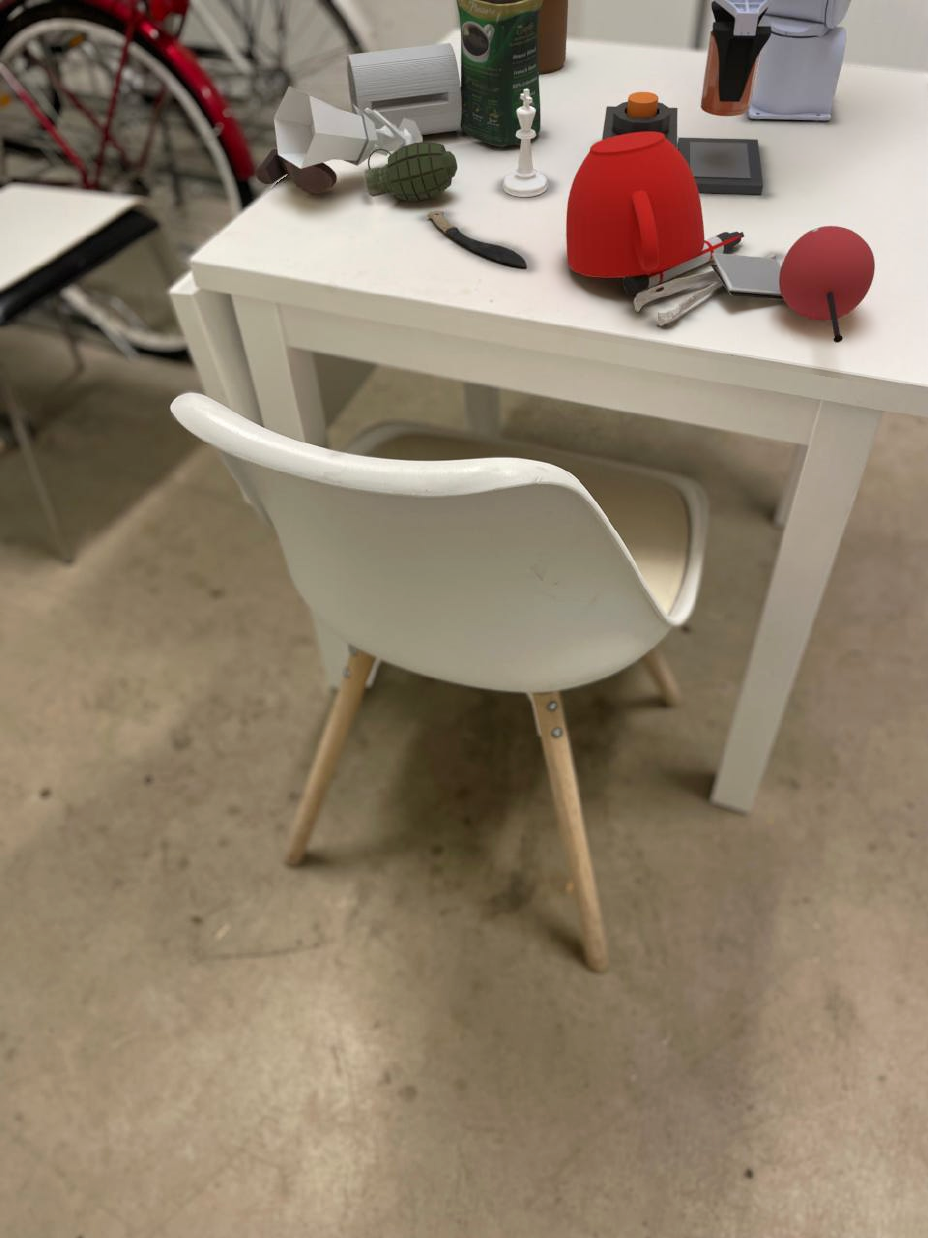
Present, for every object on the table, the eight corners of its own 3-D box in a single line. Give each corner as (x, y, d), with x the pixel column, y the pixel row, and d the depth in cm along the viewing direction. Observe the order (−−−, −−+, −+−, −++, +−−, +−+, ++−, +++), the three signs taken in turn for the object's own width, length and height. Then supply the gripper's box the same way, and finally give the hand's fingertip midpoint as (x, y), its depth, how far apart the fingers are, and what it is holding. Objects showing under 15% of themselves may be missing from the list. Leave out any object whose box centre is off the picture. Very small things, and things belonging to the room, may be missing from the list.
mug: (506, 87, 125) (505, 4, 118) (472, 71, 129) (470, -10, 122) (577, 65, 129) (580, -16, 122) (542, 50, 133) (544, -29, 126)
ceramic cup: (726, 150, 76) (728, 274, 82) (685, 113, 90) (689, 222, 96) (566, 181, 78) (579, 301, 83) (549, 140, 91) (562, 246, 97)
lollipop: (769, 362, 78) (762, 279, 88) (856, 391, 78) (839, 305, 88) (817, 278, 72) (804, 200, 83) (911, 309, 73) (885, 228, 83)
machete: (536, 266, 94) (536, 259, 93) (513, 276, 92) (513, 269, 92) (440, 213, 102) (440, 206, 101) (417, 222, 100) (417, 215, 100)
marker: (639, 281, 87) (625, 269, 88) (634, 299, 89) (620, 287, 90) (754, 230, 93) (740, 219, 94) (748, 248, 94) (734, 237, 95)
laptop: (717, 242, 87) (707, 260, 88) (738, 282, 84) (727, 301, 86) (783, 249, 89) (772, 266, 91) (805, 288, 86) (794, 306, 88)
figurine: (271, 93, 100) (401, 120, 112) (279, 176, 102) (406, 193, 114) (310, 74, 95) (441, 104, 107) (318, 161, 97) (446, 181, 109)
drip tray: (756, 147, 109) (758, 138, 109) (761, 194, 102) (763, 184, 101) (677, 145, 111) (678, 135, 110) (676, 191, 103) (677, 181, 102)
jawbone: (665, 330, 85) (670, 309, 83) (628, 308, 87) (632, 287, 86) (791, 278, 92) (797, 258, 91) (753, 259, 95) (759, 239, 93)
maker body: (672, 145, 111) (679, 90, 106) (671, 191, 103) (679, 133, 98) (603, 143, 112) (607, 88, 107) (597, 189, 104) (601, 132, 99)
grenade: (458, 134, 104) (373, 156, 107) (444, 120, 98) (353, 143, 100) (469, 196, 106) (384, 216, 108) (455, 186, 99) (366, 207, 101)
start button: (656, 108, 104) (658, 91, 103) (656, 120, 102) (658, 102, 101) (627, 108, 104) (628, 90, 103) (626, 119, 102) (627, 102, 101)
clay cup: (748, 97, 103) (761, 24, 98) (750, 116, 99) (764, 42, 94) (699, 96, 104) (710, 24, 98) (700, 115, 100) (711, 41, 95)
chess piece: (516, 200, 103) (517, 102, 95) (495, 183, 106) (493, 86, 98) (555, 190, 104) (559, 91, 97) (533, 173, 107) (535, 77, 100)
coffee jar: (551, 135, 114) (557, -49, 100) (503, 155, 111) (503, -33, 97) (497, 113, 119) (495, -65, 105) (449, 132, 116) (441, -50, 102)
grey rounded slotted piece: (349, 106, 117) (444, 94, 119) (363, 159, 114) (460, 146, 115) (344, 36, 109) (446, 24, 110) (358, 91, 106) (462, 78, 107)
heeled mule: (319, 157, 101) (339, 139, 102) (244, 154, 106) (264, 137, 108) (333, 197, 104) (352, 179, 106) (259, 193, 109) (279, 176, 111)
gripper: (709, -85, 95) (690, 64, 105) (712, -44, 86) (690, 115, 96) (781, -85, 94) (755, 65, 105) (792, -44, 85) (762, 117, 95)
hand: (728, 89), depth 100 cm, fingers closed on clay cup, 5 cm apart
